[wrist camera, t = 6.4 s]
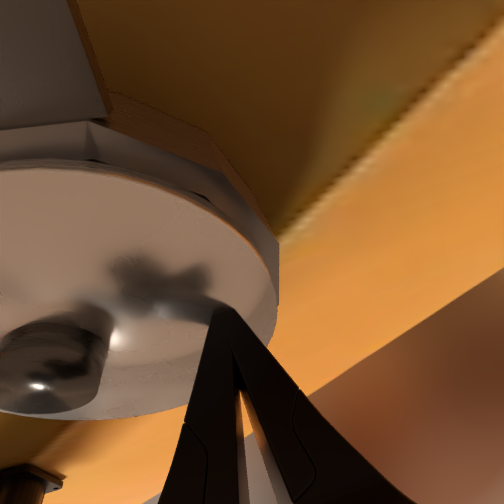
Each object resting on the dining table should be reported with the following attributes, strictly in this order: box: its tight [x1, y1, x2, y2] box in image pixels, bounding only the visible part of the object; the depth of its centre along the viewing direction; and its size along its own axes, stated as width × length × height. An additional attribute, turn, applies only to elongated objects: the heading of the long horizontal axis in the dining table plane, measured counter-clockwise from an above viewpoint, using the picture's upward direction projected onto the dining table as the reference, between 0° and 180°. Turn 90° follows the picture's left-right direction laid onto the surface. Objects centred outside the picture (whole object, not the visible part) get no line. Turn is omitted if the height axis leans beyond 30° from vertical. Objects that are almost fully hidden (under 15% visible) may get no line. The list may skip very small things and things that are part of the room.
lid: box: [0, 158, 277, 420], centre depth 8 cm, size 12×11×2 cm
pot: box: [0, 0, 279, 417], centre depth 11 cm, size 17×13×4 cm
